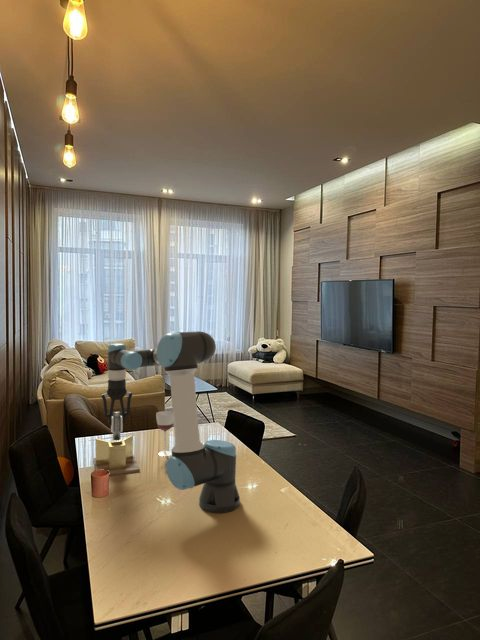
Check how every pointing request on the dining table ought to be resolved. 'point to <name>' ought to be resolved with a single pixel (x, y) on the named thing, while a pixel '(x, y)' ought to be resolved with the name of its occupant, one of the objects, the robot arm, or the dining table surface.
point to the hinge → (114, 452)
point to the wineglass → (164, 427)
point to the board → (130, 467)
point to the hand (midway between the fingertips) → (116, 431)
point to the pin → (116, 425)
